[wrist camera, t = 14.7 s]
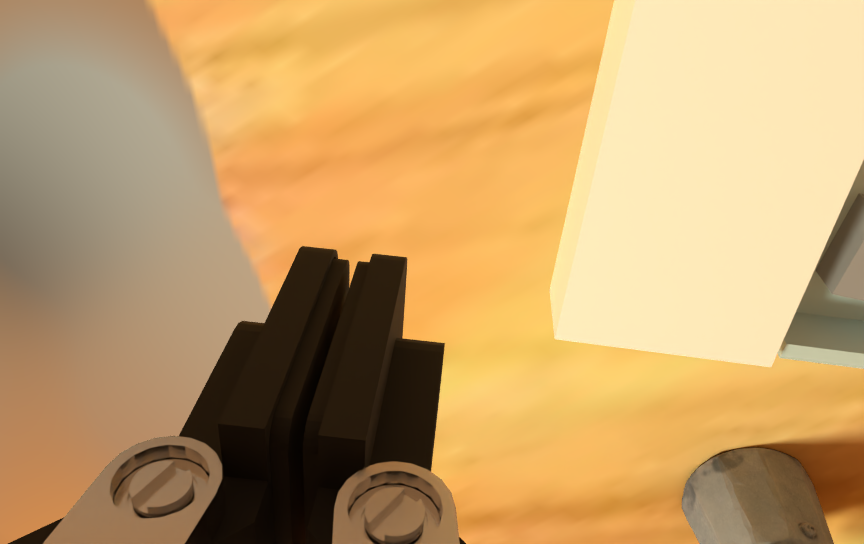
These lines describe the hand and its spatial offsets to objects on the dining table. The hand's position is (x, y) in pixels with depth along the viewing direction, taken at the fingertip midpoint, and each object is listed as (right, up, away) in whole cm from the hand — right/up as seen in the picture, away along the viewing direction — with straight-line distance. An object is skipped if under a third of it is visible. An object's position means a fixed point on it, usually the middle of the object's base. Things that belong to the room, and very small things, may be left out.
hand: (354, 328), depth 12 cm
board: (+16, +10, +26) cm, 32 cm away
